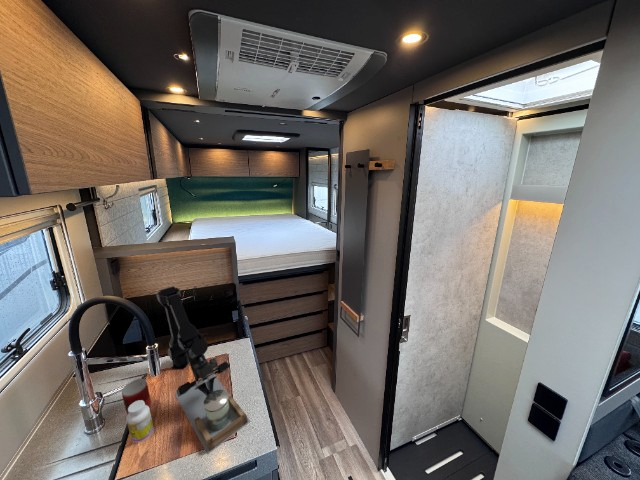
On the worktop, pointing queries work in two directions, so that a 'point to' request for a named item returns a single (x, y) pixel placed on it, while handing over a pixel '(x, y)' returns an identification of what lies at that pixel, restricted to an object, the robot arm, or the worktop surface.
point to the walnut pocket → (226, 431)
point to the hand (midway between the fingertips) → (212, 400)
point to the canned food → (136, 393)
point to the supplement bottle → (139, 421)
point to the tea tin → (217, 410)
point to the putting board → (203, 410)
